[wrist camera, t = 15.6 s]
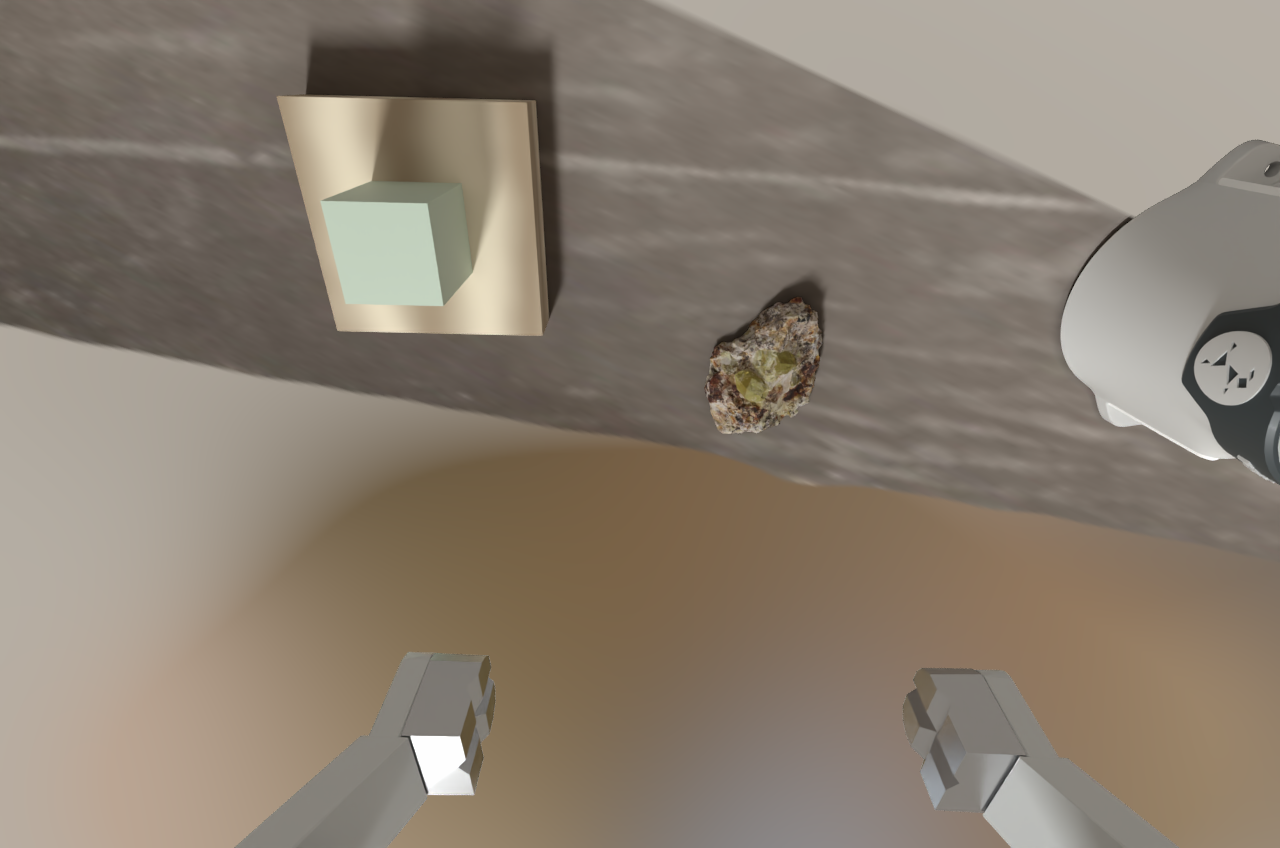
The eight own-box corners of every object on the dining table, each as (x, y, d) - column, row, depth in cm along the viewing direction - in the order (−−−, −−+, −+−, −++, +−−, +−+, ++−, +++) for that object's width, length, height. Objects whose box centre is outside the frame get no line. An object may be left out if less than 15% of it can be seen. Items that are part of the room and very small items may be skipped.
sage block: (461, 183, 32) (427, 203, 27) (473, 272, 35) (443, 306, 30) (371, 180, 32) (320, 200, 27) (389, 270, 35) (345, 303, 30)
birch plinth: (535, 100, 33) (526, 102, 30) (549, 318, 40) (542, 335, 37) (305, 94, 33) (276, 95, 30) (357, 314, 40) (337, 331, 37)
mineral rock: (788, 459, 43) (697, 439, 40) (763, 426, 46) (677, 405, 43) (871, 332, 38) (776, 296, 35) (836, 305, 42) (747, 270, 38)
